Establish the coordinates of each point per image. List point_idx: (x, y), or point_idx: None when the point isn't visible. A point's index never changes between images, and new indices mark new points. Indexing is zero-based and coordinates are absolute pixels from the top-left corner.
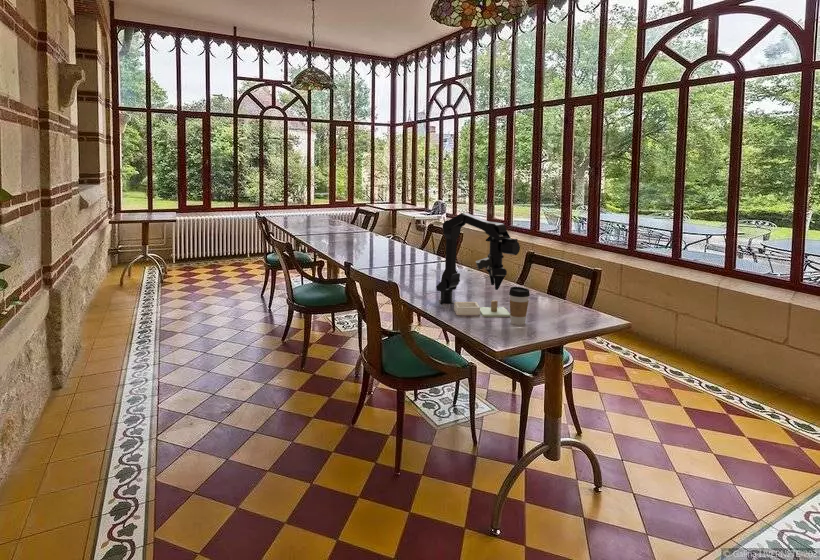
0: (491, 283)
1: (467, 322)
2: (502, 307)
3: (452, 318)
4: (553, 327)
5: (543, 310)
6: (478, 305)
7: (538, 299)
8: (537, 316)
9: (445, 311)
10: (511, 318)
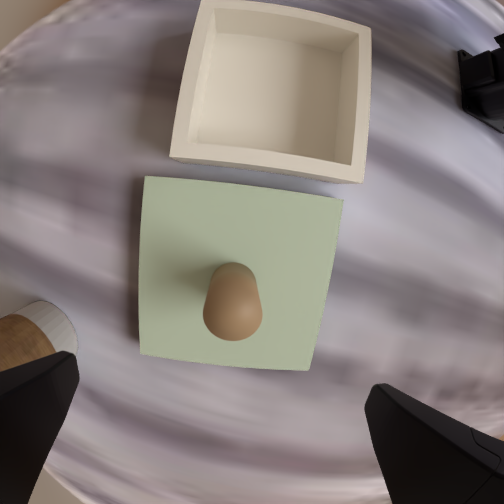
0: (385, 399)
1: (80, 71)
2: (309, 360)
3: (170, 5)
4: None
5: (267, 484)
6: (237, 159)
7: None
8: (174, 449)
9: (327, 6)
10: (22, 309)
